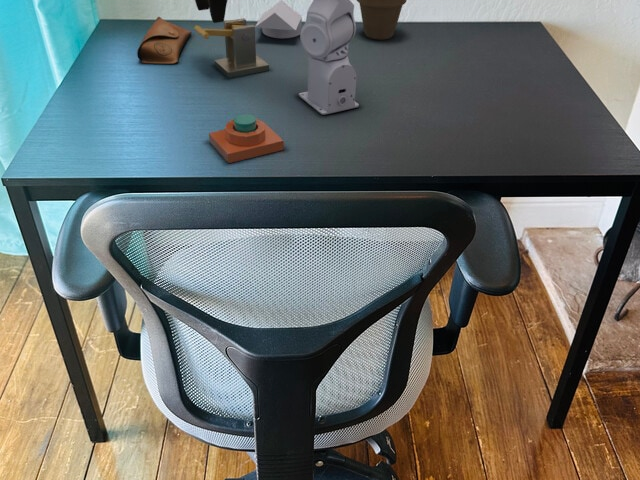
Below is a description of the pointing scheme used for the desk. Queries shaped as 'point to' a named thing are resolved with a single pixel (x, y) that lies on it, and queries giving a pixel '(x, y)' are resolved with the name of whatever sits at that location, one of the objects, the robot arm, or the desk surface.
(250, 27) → the bracket
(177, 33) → the sunglasses case
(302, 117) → the desk surface
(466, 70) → the desk surface
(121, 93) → the desk surface
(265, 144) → the button block
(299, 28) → the wedge on round base
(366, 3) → the flower pot
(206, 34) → the tap lever
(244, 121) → the button
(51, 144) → the desk surface
